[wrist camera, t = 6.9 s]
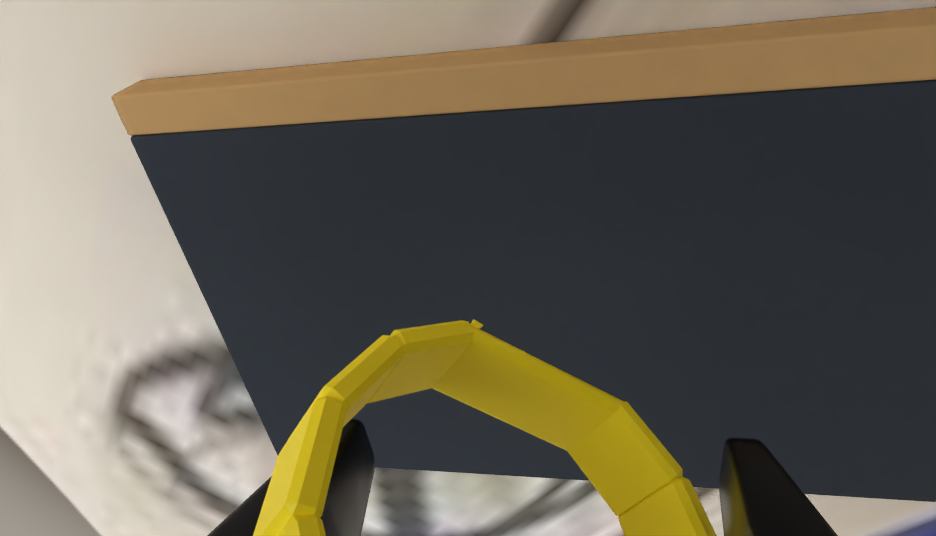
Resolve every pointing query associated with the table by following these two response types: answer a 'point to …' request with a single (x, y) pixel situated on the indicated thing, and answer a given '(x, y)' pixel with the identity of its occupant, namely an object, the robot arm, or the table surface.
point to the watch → (502, 396)
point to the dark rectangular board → (586, 236)
